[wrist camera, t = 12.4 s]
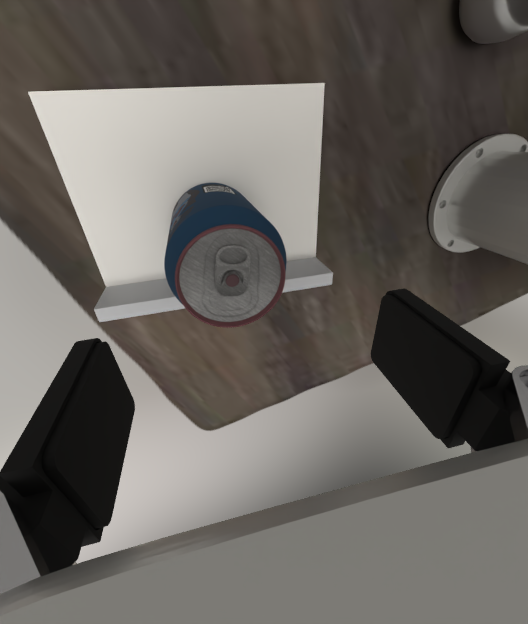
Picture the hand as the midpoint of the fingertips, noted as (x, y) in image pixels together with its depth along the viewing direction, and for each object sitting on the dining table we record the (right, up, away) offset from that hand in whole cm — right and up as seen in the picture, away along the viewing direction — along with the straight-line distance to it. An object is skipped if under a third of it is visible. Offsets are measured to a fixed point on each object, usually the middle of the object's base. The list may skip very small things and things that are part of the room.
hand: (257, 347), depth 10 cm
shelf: (-5, +12, +16) cm, 21 cm away
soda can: (-4, +9, +15) cm, 18 cm away
